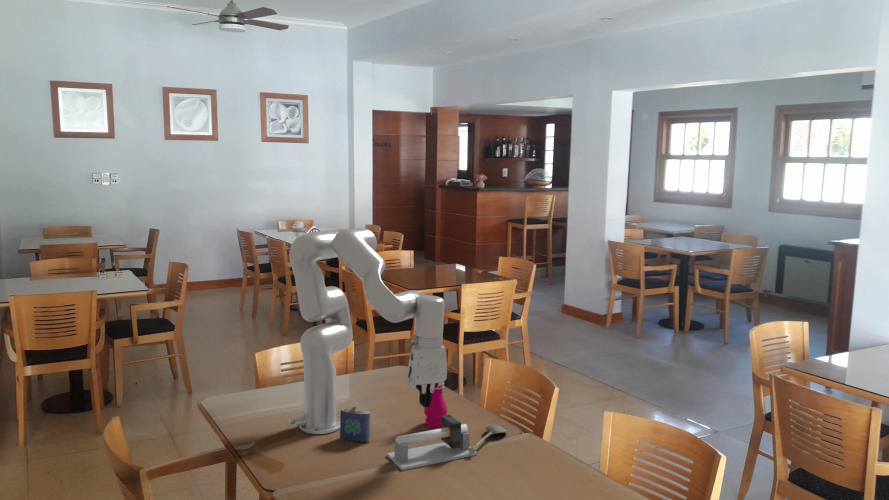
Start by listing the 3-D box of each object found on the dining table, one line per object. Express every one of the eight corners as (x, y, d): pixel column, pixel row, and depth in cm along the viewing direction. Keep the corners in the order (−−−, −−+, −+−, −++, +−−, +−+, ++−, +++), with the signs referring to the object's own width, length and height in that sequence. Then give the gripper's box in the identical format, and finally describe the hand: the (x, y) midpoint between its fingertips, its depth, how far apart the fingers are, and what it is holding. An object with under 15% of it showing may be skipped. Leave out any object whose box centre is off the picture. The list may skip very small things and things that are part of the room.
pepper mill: (444, 429, 206) (445, 366, 204) (421, 427, 208) (422, 364, 205) (449, 421, 213) (450, 359, 211) (426, 418, 215) (427, 358, 212)
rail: (401, 470, 178) (402, 444, 177) (387, 455, 187) (387, 430, 186) (477, 454, 189) (477, 429, 188) (459, 441, 198) (460, 417, 197)
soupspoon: (510, 434, 205) (490, 431, 208) (510, 423, 205) (491, 420, 208) (481, 455, 186) (459, 451, 189) (481, 443, 185) (459, 439, 188)
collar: (452, 448, 187) (453, 424, 186) (441, 439, 193) (441, 415, 192) (460, 447, 188) (461, 423, 187) (448, 437, 194) (449, 414, 193)
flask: (371, 440, 197) (371, 405, 196) (367, 444, 195) (367, 408, 193) (342, 436, 200) (341, 401, 199) (338, 440, 197) (337, 405, 196)
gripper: (409, 347, 176) (405, 414, 179) (459, 343, 183) (455, 407, 186) (397, 339, 183) (394, 404, 186) (446, 335, 190) (442, 397, 193)
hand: (425, 405), depth 186 cm, fingers closed
